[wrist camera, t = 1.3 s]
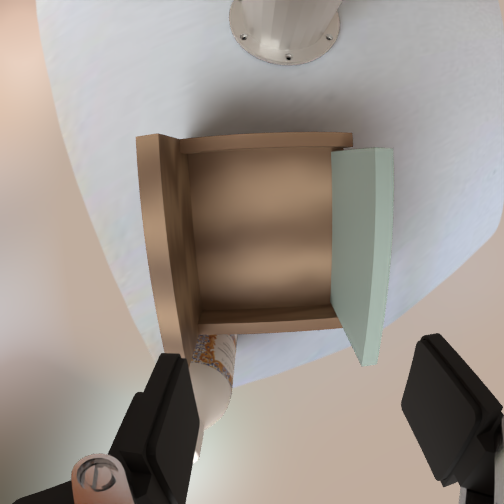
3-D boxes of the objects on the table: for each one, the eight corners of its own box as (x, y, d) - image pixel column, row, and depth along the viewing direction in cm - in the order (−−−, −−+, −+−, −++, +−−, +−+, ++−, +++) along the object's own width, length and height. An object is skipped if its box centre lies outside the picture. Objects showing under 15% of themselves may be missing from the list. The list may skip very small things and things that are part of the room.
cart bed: (184, 146, 33) (135, 136, 19) (328, 139, 33) (378, 126, 19) (198, 297, 38) (168, 371, 24) (329, 291, 38) (365, 362, 23)
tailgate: (330, 151, 27) (375, 147, 17) (349, 152, 27) (401, 149, 17) (330, 301, 31) (361, 366, 21) (346, 300, 31) (384, 363, 21)
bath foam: (247, 342, 40) (241, 468, 21) (202, 361, 41) (173, 481, 22) (219, 299, 38) (190, 418, 19) (173, 321, 39) (121, 436, 20)
